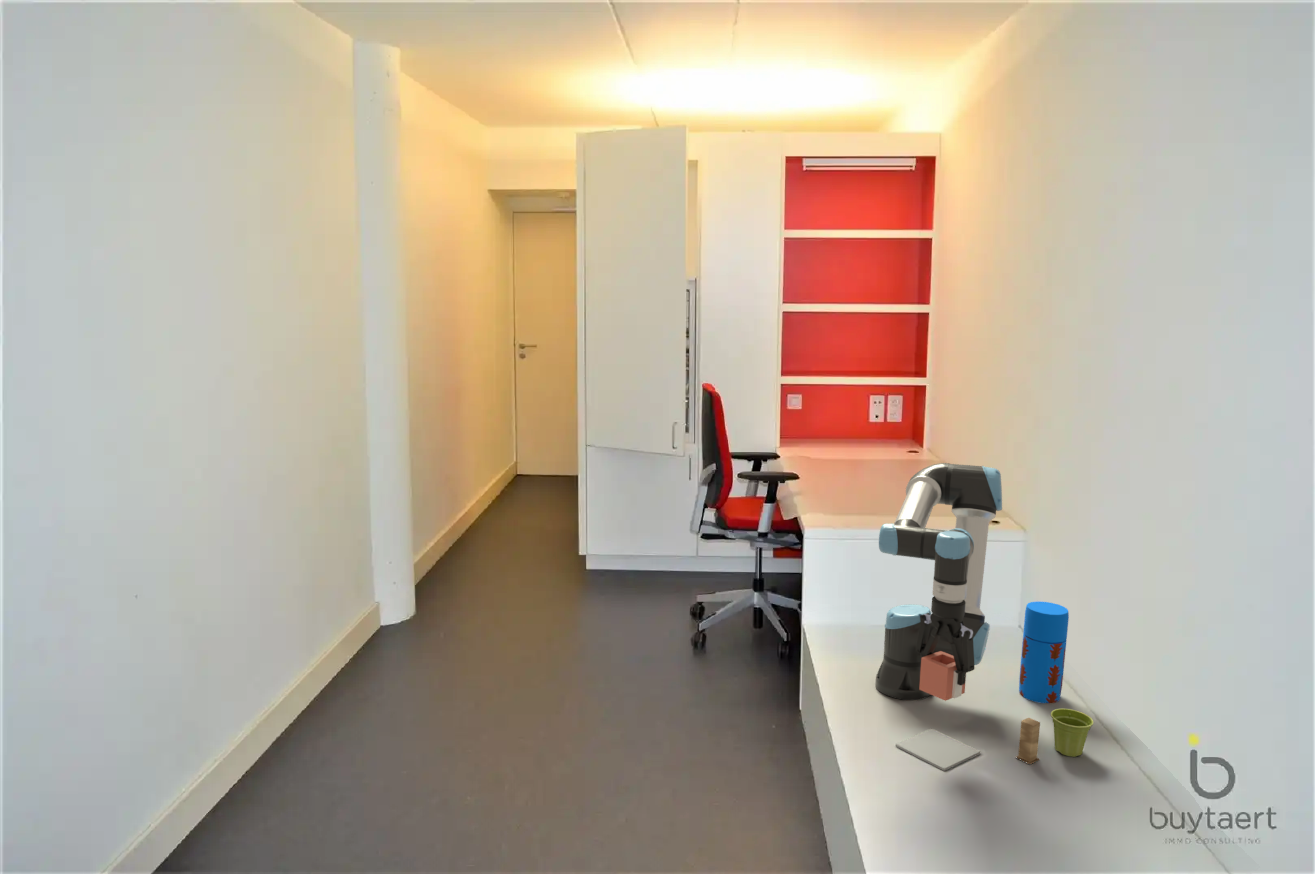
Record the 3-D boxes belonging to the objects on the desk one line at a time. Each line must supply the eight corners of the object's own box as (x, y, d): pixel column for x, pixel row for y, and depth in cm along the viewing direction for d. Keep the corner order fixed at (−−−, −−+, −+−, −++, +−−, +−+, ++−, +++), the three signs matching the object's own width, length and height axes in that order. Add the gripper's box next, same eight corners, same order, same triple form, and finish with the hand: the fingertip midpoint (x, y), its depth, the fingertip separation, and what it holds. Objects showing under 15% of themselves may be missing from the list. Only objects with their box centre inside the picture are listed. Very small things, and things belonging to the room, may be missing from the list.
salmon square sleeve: (919, 689, 220) (921, 657, 219) (938, 681, 225) (940, 650, 223) (945, 700, 214) (947, 668, 213) (964, 692, 219) (967, 660, 217)
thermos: (1011, 686, 258) (1018, 601, 254) (1048, 686, 259) (1056, 600, 255) (1030, 704, 248) (1038, 615, 243) (1068, 703, 248) (1076, 614, 244)
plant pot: (1087, 745, 226) (1091, 712, 224) (1091, 763, 217) (1095, 729, 215) (1046, 738, 229) (1049, 705, 227) (1048, 756, 220) (1052, 722, 218)
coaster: (895, 746, 223) (895, 743, 223) (931, 730, 232) (931, 728, 232) (944, 770, 212) (944, 768, 212) (980, 753, 221) (980, 751, 220)
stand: (1015, 757, 219) (1018, 720, 217) (1024, 753, 221) (1027, 716, 220) (1030, 764, 216) (1033, 726, 214) (1039, 760, 218) (1042, 722, 217)
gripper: (903, 589, 222) (897, 679, 225) (977, 613, 206) (969, 710, 209) (923, 583, 226) (917, 671, 230) (996, 607, 210) (988, 701, 214)
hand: (942, 690), depth 219 cm, fingers closed on salmon square sleeve, 7 cm apart
